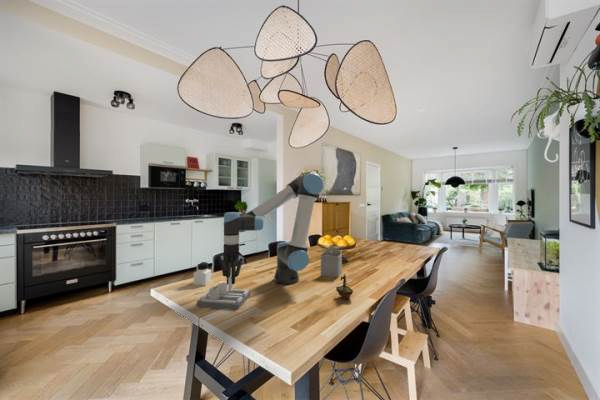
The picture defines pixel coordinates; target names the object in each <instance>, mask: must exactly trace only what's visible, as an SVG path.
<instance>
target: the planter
mask: <svg viewBox="0 0 600 400" xmlns="http://www.w3.org/2000/svg"><path fill="white" fill-rule="evenodd" d="M342 265H343V252H342V251H340V249H338V248H337V247H336V246H334V245H332V244H331V245H329V247H327V248H326V249H325V250H324V251H323V252H322V253H321V254H320V277H325V276H326V278H327V277H328V278H335V277H337V279H338V278H339V277H341V275H342V273H343V271H342V270H343V269H342V268H343V267H342Z"/></svg>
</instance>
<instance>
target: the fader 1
mask: <svg viewBox="0 0 600 400" xmlns="http://www.w3.org/2000/svg"><path fill="white" fill-rule="evenodd" d="M208 293H209V299H211V300H219V299H220V298H221V287H218V286H212V287H210V288H209V289H208Z"/></svg>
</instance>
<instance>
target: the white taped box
mask: <svg viewBox="0 0 600 400" xmlns="http://www.w3.org/2000/svg"><path fill="white" fill-rule="evenodd" d="M217 285H218V287H221V293H227V292H228V284H227V280H221V281H219V282H218V284H217Z"/></svg>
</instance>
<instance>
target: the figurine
mask: <svg viewBox="0 0 600 400" xmlns="http://www.w3.org/2000/svg"><path fill="white" fill-rule="evenodd" d="M340 281H343V282H342V285H340V286H336V287H335V291H336V292H337V294H338V296H340V298H342V299H349V298H351V296H352V295H353V293H354V290H353V289H352V288H351V287H349V286H348V282H347V276H346V274H343V276H340Z"/></svg>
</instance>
